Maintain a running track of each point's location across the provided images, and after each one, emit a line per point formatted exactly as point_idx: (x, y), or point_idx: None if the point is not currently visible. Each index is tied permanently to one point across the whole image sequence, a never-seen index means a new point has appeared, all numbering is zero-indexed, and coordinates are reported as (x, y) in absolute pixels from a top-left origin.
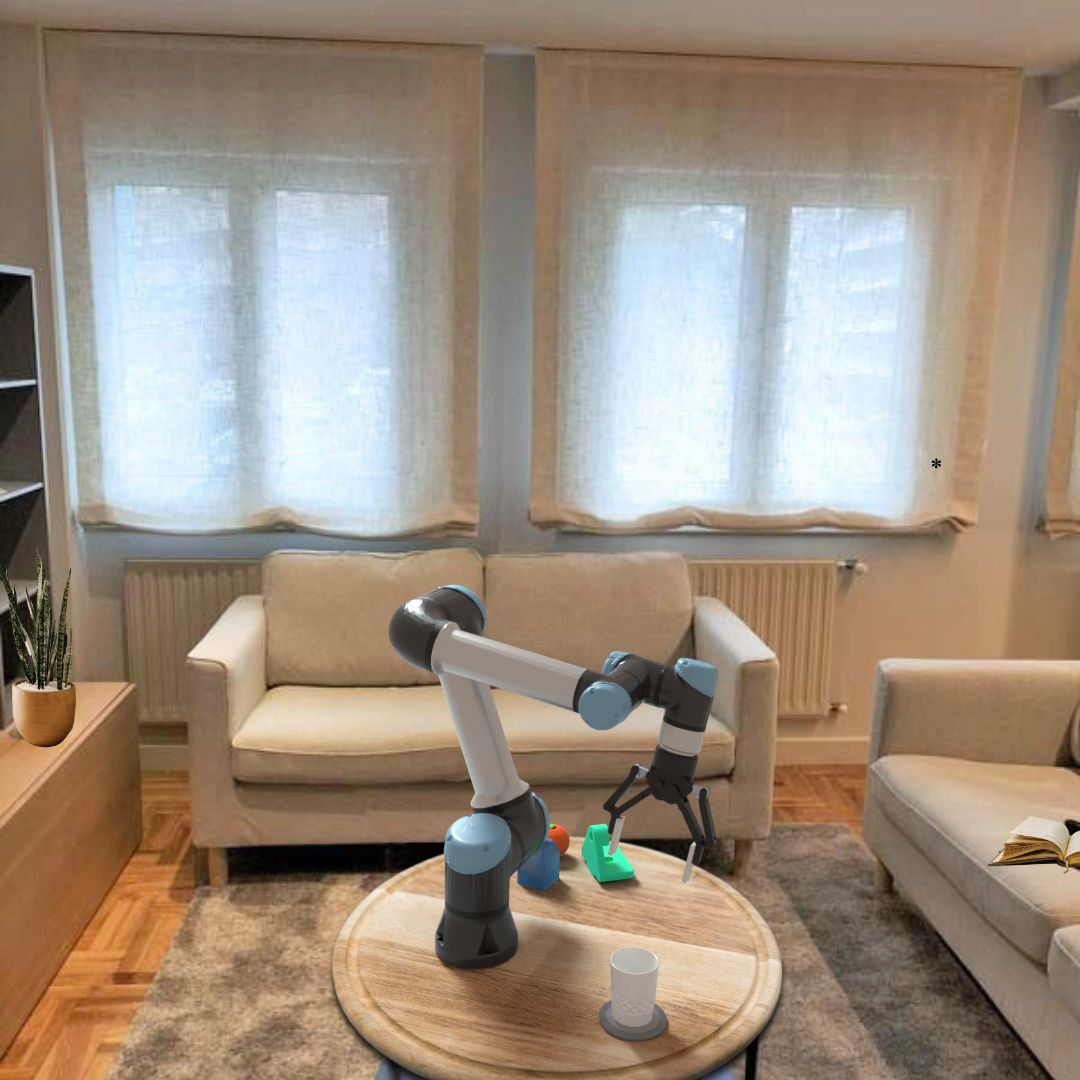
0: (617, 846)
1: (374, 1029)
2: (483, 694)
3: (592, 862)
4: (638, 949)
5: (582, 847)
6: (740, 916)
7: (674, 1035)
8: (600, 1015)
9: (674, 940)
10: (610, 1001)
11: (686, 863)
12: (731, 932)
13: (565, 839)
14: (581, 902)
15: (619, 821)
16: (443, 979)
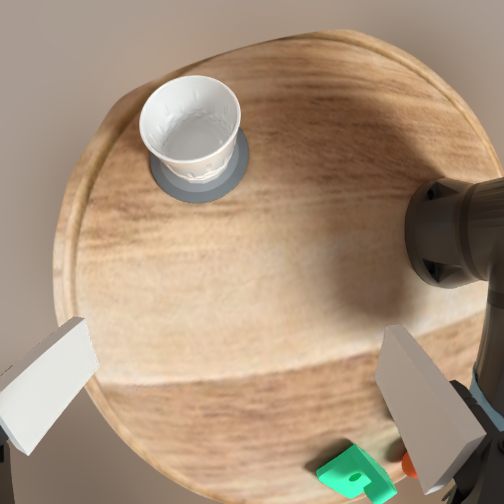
0: (382, 390)
1: (430, 70)
2: None
3: (372, 461)
4: (193, 159)
5: (387, 474)
6: (155, 456)
7: (136, 151)
8: (243, 136)
9: (210, 381)
10: (241, 172)
11: (41, 353)
12: (148, 424)
13: (411, 467)
14: (366, 399)
15: (465, 434)
16: (438, 155)
